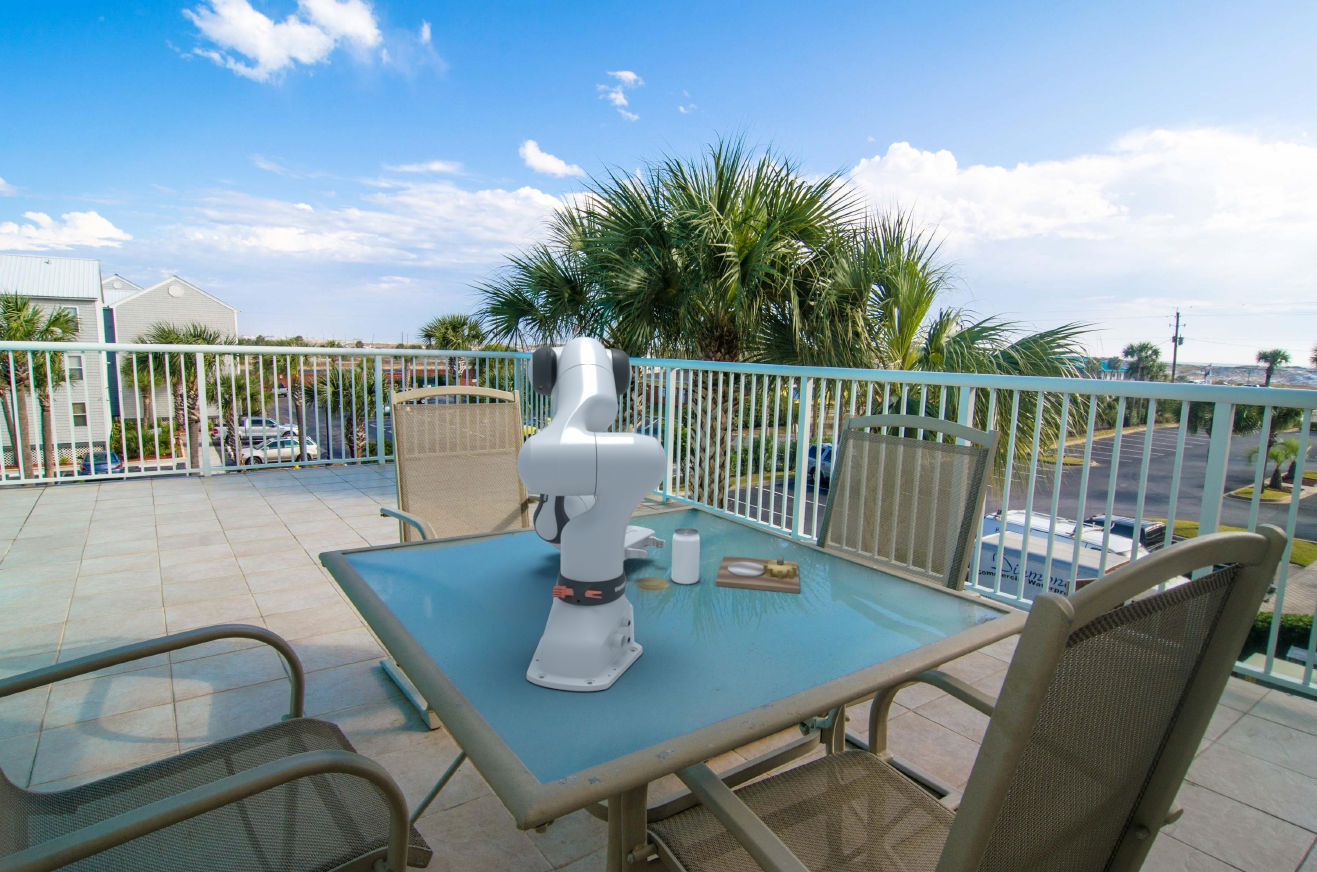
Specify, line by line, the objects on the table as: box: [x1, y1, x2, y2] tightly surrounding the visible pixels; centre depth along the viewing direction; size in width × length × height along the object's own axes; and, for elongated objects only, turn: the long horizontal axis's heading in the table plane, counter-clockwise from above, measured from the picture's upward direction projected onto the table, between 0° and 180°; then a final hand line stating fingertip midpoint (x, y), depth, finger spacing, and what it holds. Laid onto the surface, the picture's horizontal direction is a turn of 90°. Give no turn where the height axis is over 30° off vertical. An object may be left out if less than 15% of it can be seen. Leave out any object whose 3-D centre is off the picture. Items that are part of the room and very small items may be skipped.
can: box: [671, 527, 701, 586], centre depth 152 cm, size 6×6×12 cm
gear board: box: [715, 554, 801, 594], centre depth 157 cm, size 20×19×6 cm
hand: (655, 549), depth 155 cm, fingers open, 8 cm apart
